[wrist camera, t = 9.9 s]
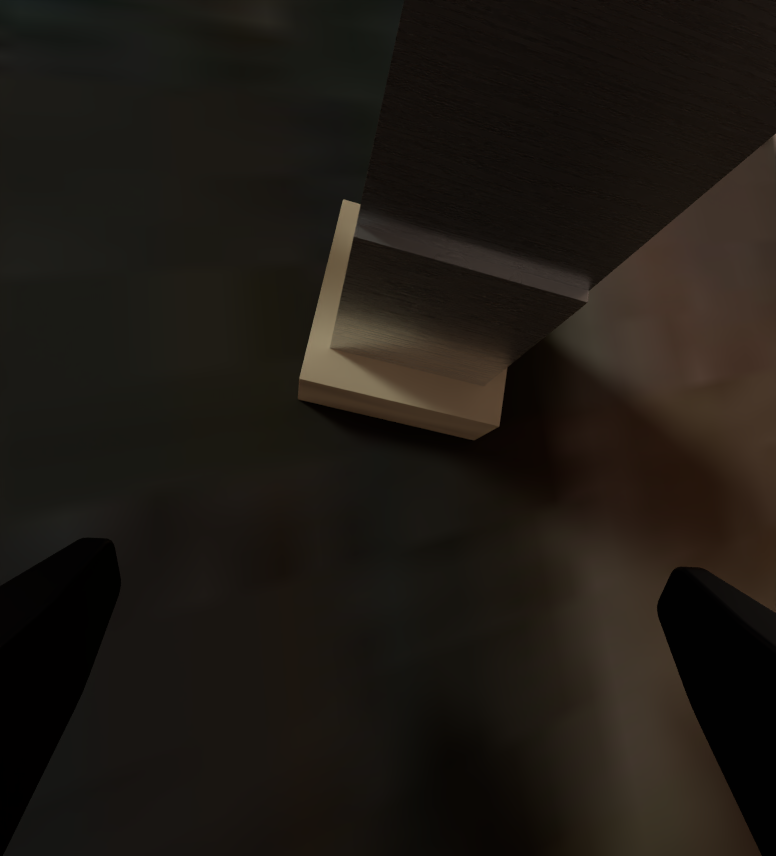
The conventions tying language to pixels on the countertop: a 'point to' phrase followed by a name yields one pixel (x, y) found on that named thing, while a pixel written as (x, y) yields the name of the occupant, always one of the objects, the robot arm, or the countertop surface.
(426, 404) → the stand
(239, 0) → the countertop surface
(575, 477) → the countertop surface
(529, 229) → the housing
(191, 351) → the countertop surface
